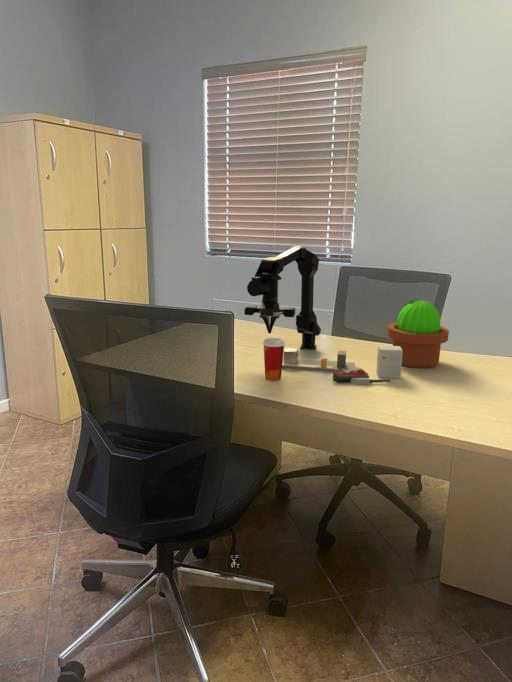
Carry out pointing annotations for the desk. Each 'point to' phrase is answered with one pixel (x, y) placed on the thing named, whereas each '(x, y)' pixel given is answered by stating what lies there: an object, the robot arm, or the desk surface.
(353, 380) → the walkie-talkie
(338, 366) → the gauge board
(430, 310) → the potted cactus
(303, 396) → the desk surface
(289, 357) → the grey faceted block
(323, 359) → the block
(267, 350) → the paper cup
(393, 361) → the small box
